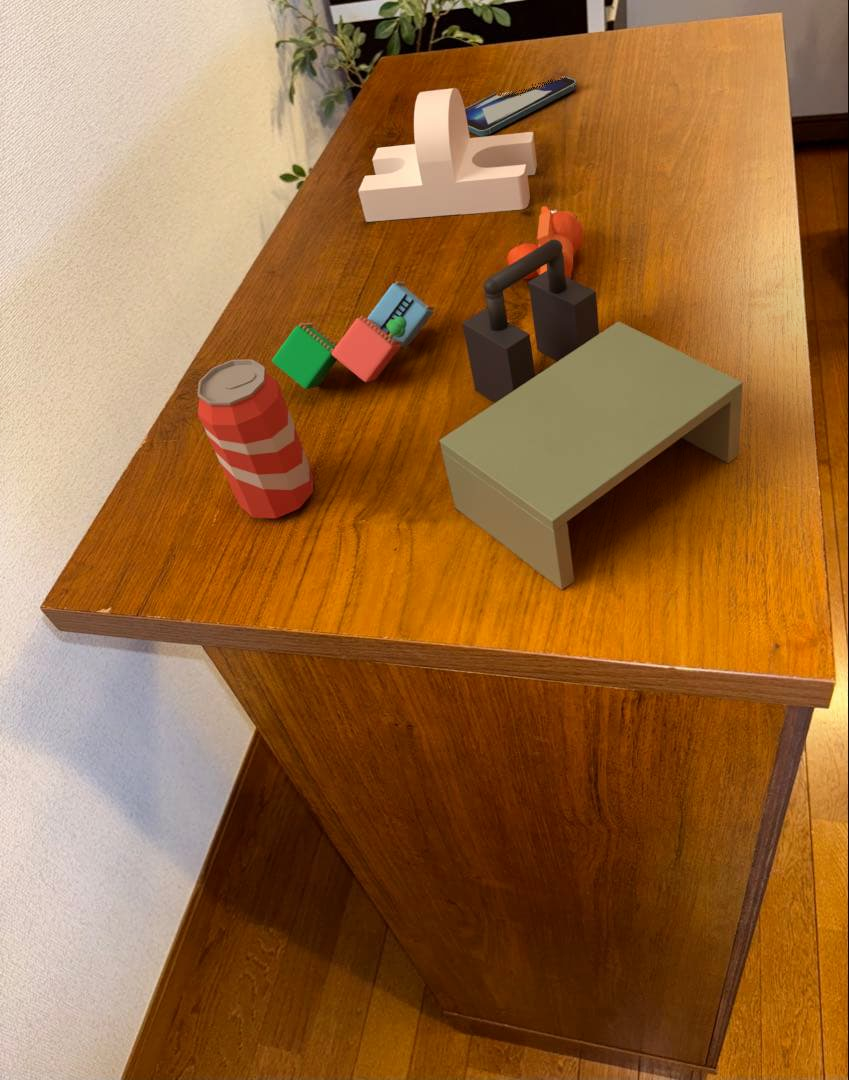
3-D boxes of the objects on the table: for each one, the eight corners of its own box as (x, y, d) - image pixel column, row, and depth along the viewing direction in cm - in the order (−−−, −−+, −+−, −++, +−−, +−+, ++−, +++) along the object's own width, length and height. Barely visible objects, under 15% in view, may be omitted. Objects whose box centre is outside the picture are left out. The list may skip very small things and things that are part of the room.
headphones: (601, 360, 84) (592, 242, 76) (517, 417, 81) (499, 300, 73) (556, 336, 88) (543, 221, 80) (474, 390, 85) (452, 276, 77)
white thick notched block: (366, 222, 109) (341, 124, 101) (384, 178, 115) (362, 83, 107) (527, 208, 104) (514, 105, 96) (537, 163, 110) (526, 63, 102)
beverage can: (327, 503, 78) (283, 385, 70) (252, 535, 77) (199, 419, 69) (303, 460, 83) (260, 344, 74) (233, 491, 82) (180, 376, 73)
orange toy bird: (568, 252, 86) (572, 184, 94) (492, 283, 89) (502, 215, 97) (590, 297, 89) (592, 228, 97) (516, 326, 92) (524, 256, 100)
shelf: (738, 455, 73) (742, 381, 68) (562, 590, 68) (552, 521, 63) (622, 391, 81) (618, 320, 76) (454, 508, 75) (438, 440, 70)
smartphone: (447, 117, 121) (542, 68, 125) (449, 124, 122) (543, 75, 126) (482, 132, 116) (580, 81, 120) (483, 140, 117) (580, 89, 121)
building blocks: (359, 410, 93) (437, 309, 90) (338, 418, 86) (422, 307, 82) (295, 358, 93) (371, 254, 90) (268, 361, 85) (350, 247, 82)
